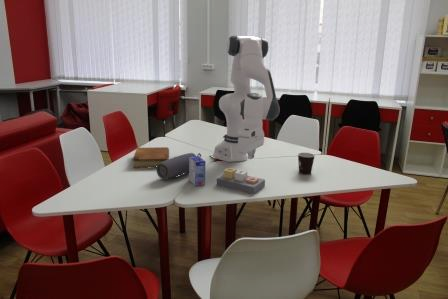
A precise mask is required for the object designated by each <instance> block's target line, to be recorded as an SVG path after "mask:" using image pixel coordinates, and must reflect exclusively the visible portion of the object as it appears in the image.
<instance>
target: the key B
mask: <svg viewBox="0 0 448 299" xmlns="http://www.w3.org/2000/svg"><path fill="white" fill-rule="evenodd" d="M247 176H248V171H247V170H246V171H245V170H242V169H241V170H240V169H239V170H236V172H235V180H238V181H242V182H243V181H245V180H246V179H247Z"/></svg>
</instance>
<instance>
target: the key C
mask: <svg viewBox="0 0 448 299" xmlns="http://www.w3.org/2000/svg"><path fill="white" fill-rule="evenodd" d="M254 177H255V176H251V177H249V178H247V179H246V182H247V183H251V184H256V183H257V182H258V178H259V177H256V178H254Z"/></svg>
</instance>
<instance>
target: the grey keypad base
mask: <svg viewBox="0 0 448 299" xmlns="http://www.w3.org/2000/svg"><path fill="white" fill-rule="evenodd" d="M249 177H252V176H250V175H247V178H249ZM253 177H254V178H258V182H257V183H256V184H251V183H247V182H246V180H245V181H243V182H242V181H238V180H235V178H233V179H229V178H225V177H224V174H222V175H221V176H219V177H217V178H216V186H217V185H218V186H217V187H222V188H227V189H230V190H233V191H238V192H242V193H247V194H251V195H255V194H257V192H259V191H260V190H262V189H263V188H264V187H265V186H266V179H265V178H261V177H260V178H259V177H255V176H253Z"/></svg>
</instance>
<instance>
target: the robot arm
mask: <svg viewBox="0 0 448 299" xmlns="http://www.w3.org/2000/svg"><path fill="white" fill-rule="evenodd" d="M269 48H270V47H269V42H268V40H267V39H265V38H262V37H257V36H250V35H248V36H247V35H231V36H230V37H229V38H228V39H227V42H226V52H227V54H228V55H230V56H232V57H233V60H232V64H231V71H230V72H231V73H230V83H231V85H233V89H234V92H233V93H232V92H231V93H226V94H225V95H222V96H221V97H220V98H219V101H218V107H219V110H220V111H221V112H222V113H223V114H224V116H225V119H226V134H224V135H223V136H222V139H223V140H222V141H221V142H219V143H218V144H217V145H216V146H215V147H214V150H213V152H211V154H213V155H211V154H210V155H211V156H213V157H215V158H214V159H216V160H220V161H224V162H226V163H230V162H231V163H232V162H243V161H244V162H245V161H247V160H252V159H254V158H255V154H256V150H257V149H258V148H260V147H262V146H264V145H265V144H264V143H265V132H264V130H263V120H266V121H274V120H275V119H277V117H278V116H280V115H279V114H280V104H279V101H278V98H277V96H276V90H275V87H274V86H275V85H274V82H273V77H272V73H271V71H270V69H269V68H267V67H266V65H265V64H264V61H263V60H264V58H266V56H267V55H268V52H269ZM251 79H252V80H253V81H256V82H259V83H261V84H262V85H263V86H264V90H265V94H266V96H265V97H266V98H264V97H263V95H262V94H260V93H256V92H252V90H251ZM243 118H244V119H243ZM213 157H212V158H213Z"/></svg>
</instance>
